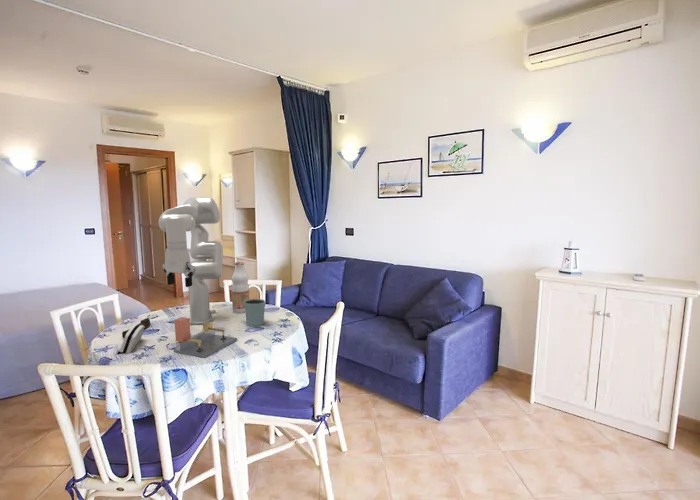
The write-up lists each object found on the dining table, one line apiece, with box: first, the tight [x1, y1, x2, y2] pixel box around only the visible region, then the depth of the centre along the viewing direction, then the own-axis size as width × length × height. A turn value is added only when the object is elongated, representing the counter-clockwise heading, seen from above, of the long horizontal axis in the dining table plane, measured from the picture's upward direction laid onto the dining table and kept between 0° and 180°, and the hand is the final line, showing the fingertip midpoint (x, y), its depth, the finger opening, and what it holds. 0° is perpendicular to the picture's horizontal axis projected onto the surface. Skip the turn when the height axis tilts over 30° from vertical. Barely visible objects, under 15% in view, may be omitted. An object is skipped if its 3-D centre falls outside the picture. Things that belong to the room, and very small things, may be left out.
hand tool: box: [121, 317, 151, 339], centre depth 176 cm, size 19×4×5 cm, turn 176°
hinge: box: [115, 323, 145, 355], centre depth 158 cm, size 17×5×10 cm, turn 15°
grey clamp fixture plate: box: [173, 322, 238, 359], centre depth 157 cm, size 20×16×7 cm
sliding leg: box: [173, 316, 201, 350], centre depth 151 cm, size 4×11×12 cm, turn 69°
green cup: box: [244, 298, 266, 328], centre depth 186 cm, size 10×10×12 cm
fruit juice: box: [231, 261, 250, 314], centre depth 209 cm, size 9×9×28 cm
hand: (180, 285), depth 157 cm, fingers open, 9 cm apart
